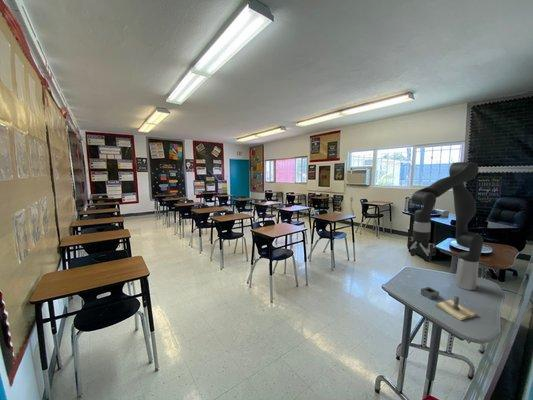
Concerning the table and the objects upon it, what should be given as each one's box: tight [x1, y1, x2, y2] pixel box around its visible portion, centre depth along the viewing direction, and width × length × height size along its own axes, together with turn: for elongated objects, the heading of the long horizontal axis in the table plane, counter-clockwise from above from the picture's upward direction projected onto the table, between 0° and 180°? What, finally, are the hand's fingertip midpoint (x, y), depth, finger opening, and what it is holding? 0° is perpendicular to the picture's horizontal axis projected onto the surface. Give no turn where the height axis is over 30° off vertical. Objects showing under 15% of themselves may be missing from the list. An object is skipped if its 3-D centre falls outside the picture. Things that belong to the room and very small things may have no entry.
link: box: [420, 286, 440, 300], centre depth 128 cm, size 6×6×3 cm
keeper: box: [435, 295, 478, 321], centre depth 114 cm, size 11×12×7 cm
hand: (420, 258), depth 122 cm, fingers open, 8 cm apart
